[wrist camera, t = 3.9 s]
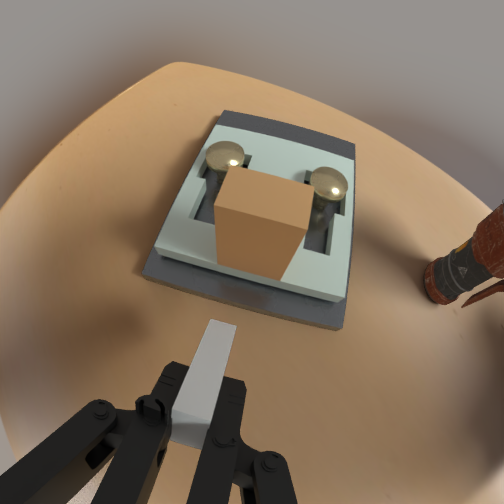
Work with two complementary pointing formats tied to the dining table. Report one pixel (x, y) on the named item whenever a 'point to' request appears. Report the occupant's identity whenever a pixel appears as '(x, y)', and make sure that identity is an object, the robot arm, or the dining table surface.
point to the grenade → (470, 264)
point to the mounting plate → (323, 208)
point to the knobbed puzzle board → (263, 218)
